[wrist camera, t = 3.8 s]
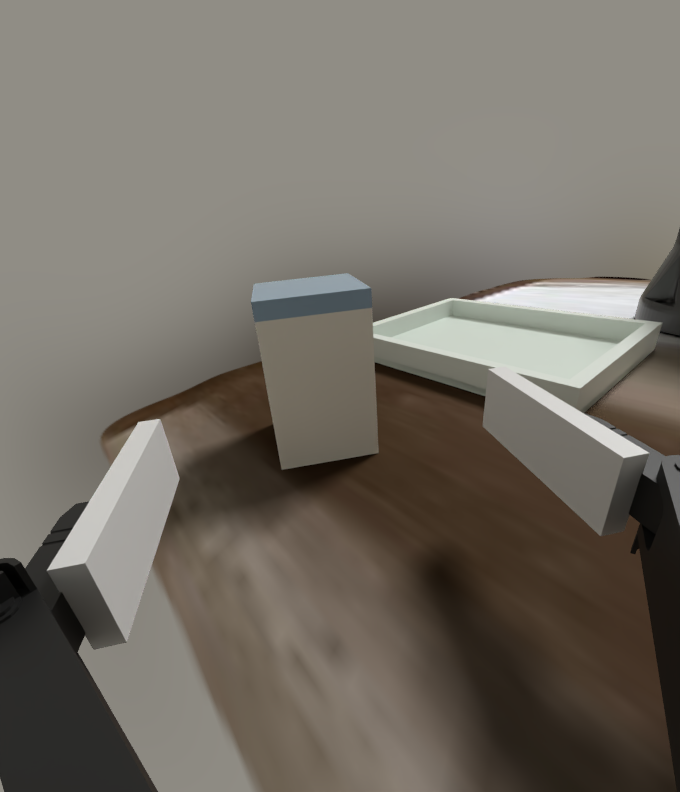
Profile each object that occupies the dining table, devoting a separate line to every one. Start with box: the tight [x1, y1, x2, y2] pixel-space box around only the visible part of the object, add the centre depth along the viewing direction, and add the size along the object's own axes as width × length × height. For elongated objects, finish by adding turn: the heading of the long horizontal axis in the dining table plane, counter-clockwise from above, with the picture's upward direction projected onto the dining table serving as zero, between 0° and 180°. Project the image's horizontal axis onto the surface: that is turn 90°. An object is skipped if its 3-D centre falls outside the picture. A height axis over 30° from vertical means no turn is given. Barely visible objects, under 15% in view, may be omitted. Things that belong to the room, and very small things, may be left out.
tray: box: [373, 298, 662, 413], centre depth 37 cm, size 18×22×2 cm
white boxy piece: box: [251, 273, 379, 470], centre depth 24 cm, size 6×6×10 cm
